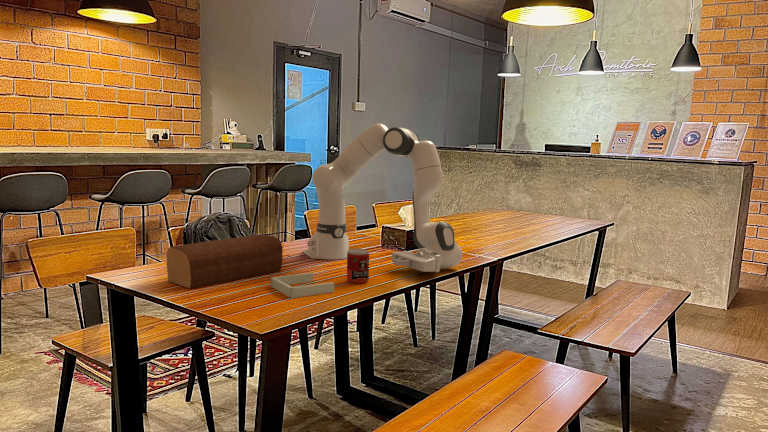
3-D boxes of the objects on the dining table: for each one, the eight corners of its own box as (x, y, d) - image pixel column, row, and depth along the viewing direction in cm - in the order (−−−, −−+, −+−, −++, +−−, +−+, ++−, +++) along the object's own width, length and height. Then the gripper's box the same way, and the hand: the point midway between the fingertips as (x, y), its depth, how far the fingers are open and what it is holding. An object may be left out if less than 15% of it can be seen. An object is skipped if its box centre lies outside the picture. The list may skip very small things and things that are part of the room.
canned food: (352, 285, 201) (353, 253, 200) (343, 279, 208) (343, 249, 207) (372, 283, 205) (373, 252, 203) (362, 278, 212) (363, 248, 210)
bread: (165, 282, 199) (164, 243, 198) (258, 265, 229) (258, 231, 227) (190, 291, 189) (189, 250, 188) (284, 271, 219) (284, 236, 217)
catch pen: (270, 286, 197) (270, 277, 196) (311, 280, 205) (311, 272, 205) (291, 298, 183) (291, 288, 183) (333, 292, 192) (334, 283, 191)
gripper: (409, 246, 230) (380, 249, 223) (442, 256, 213) (412, 259, 206) (409, 262, 231) (379, 265, 223) (442, 273, 214) (411, 277, 207)
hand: (395, 262), depth 214 cm, fingers closed
